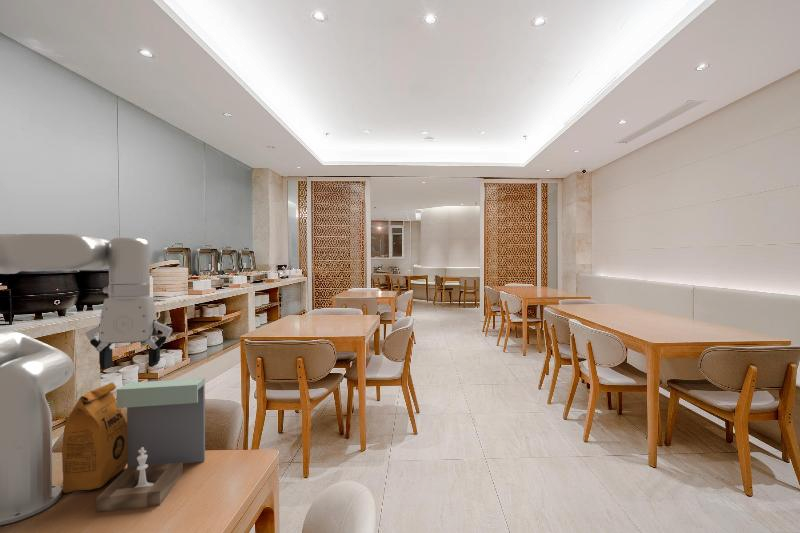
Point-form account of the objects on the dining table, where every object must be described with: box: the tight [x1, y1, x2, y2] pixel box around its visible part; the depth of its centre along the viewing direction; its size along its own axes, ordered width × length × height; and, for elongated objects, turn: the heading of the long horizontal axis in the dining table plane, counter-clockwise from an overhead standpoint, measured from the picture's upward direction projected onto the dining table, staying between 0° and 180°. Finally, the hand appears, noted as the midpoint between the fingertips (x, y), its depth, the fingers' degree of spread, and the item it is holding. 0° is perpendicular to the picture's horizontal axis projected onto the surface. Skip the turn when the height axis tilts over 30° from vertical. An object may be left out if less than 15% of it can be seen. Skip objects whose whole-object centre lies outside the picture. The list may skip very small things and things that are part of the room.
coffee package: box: [61, 381, 127, 494], centre depth 88 cm, size 10×12×22 cm
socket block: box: [95, 462, 184, 513], centre depth 83 cm, size 12×12×3 cm
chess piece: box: [135, 447, 155, 487], centre depth 83 cm, size 5×5×10 cm
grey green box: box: [116, 377, 206, 469], centre depth 93 cm, size 18×6×22 cm, turn 100°
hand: (130, 366), depth 84 cm, fingers open, 9 cm apart
